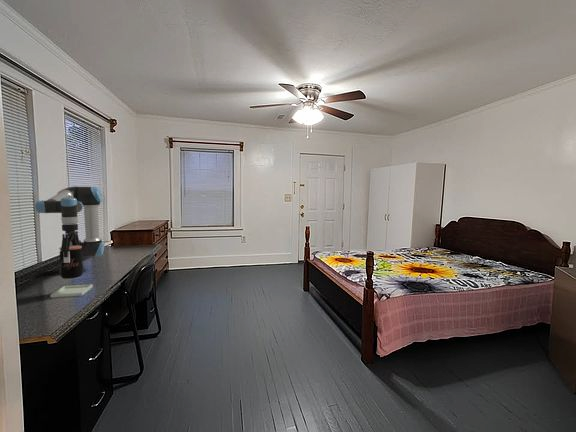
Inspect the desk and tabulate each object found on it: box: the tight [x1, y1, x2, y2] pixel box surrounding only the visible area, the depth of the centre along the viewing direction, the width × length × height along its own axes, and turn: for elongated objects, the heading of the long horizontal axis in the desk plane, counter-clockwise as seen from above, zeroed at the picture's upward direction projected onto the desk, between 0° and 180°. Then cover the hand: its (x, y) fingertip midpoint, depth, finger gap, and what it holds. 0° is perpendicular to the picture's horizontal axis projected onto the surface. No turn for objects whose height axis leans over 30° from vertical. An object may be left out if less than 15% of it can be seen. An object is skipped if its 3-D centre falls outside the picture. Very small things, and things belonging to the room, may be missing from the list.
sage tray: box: [50, 284, 94, 299], centre depth 170 cm, size 16×16×2 cm
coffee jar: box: [58, 245, 84, 280], centre depth 168 cm, size 11×11×18 cm
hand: (71, 260), depth 168 cm, fingers closed on coffee jar, 11 cm apart
